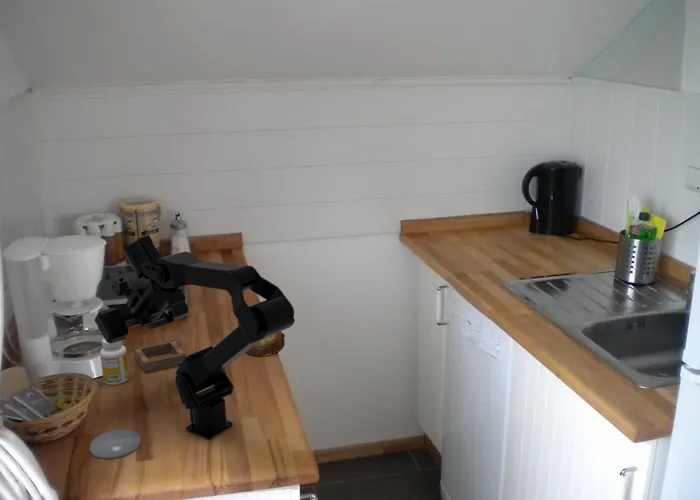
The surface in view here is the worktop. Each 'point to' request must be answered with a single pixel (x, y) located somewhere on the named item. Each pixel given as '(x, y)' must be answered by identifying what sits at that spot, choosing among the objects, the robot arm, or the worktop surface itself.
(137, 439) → the slate coaster
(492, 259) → the worktop surface
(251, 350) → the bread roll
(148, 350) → the rectangular wooden frame
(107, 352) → the supplement bottle
